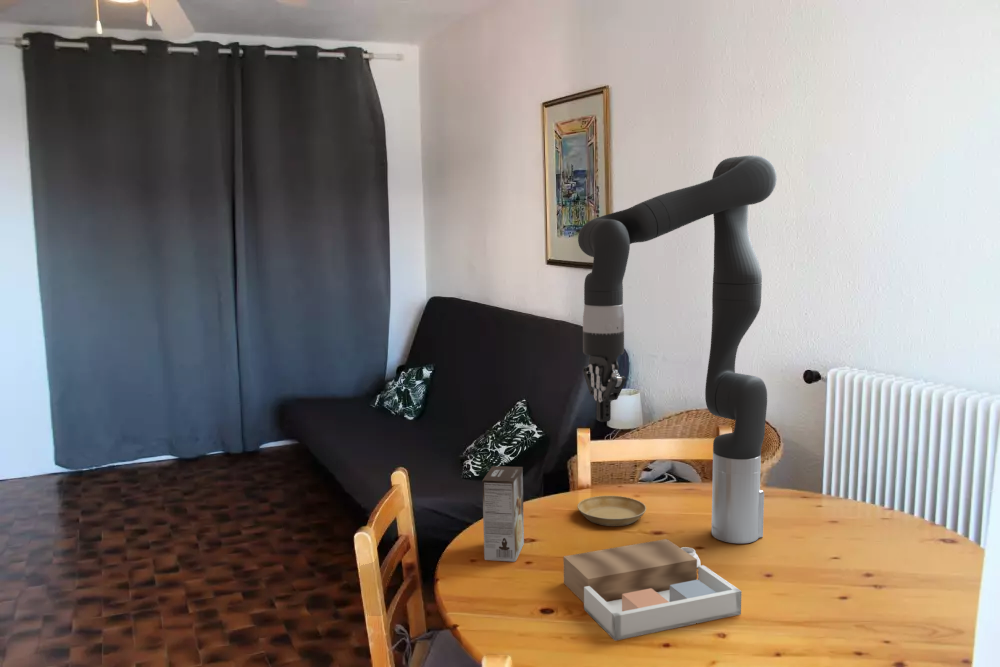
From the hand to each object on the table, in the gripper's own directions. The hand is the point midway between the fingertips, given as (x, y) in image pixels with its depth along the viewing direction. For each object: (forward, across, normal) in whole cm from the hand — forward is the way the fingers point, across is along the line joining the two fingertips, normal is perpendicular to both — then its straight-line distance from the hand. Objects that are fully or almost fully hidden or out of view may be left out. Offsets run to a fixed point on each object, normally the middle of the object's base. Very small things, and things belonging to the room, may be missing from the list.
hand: (603, 420), depth 157 cm
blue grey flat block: (+23, -25, -3) cm, 34 cm away
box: (+27, -24, +2) cm, 36 cm away
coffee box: (+27, +10, +16) cm, 33 cm away
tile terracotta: (+23, -24, +6) cm, 34 cm away
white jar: (+27, -9, -13) cm, 31 cm away
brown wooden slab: (+27, -12, +2) cm, 30 cm away
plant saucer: (+27, +18, -12) cm, 35 cm away
